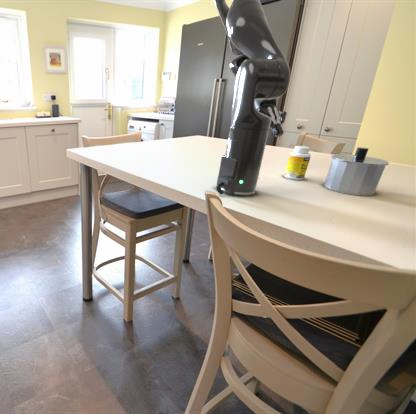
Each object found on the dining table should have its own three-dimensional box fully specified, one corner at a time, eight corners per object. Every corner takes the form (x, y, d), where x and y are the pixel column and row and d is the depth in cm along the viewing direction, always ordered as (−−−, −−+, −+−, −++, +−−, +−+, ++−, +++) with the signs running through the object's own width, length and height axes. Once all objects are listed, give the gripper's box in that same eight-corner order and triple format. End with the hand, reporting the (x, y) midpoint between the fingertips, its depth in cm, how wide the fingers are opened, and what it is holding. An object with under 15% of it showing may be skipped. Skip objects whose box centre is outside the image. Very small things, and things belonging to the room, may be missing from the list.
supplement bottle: (298, 181, 90) (308, 149, 86) (280, 177, 94) (289, 146, 90) (307, 178, 93) (316, 147, 89) (289, 174, 97) (297, 144, 93)
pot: (354, 197, 77) (365, 166, 73) (315, 184, 87) (323, 157, 84) (384, 194, 80) (396, 164, 76) (343, 182, 90) (352, 155, 86)
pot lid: (365, 169, 73) (371, 153, 72) (320, 158, 84) (324, 144, 83) (399, 166, 76) (405, 151, 75) (351, 157, 87) (355, 143, 86)
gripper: (268, 103, 108) (286, 141, 102) (239, 103, 105) (256, 142, 99) (283, 88, 102) (304, 128, 95) (252, 87, 98) (272, 128, 92)
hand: (279, 135), depth 97 cm, fingers closed
